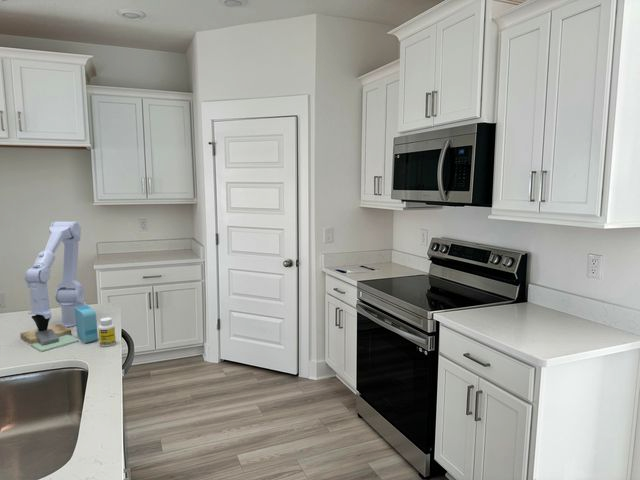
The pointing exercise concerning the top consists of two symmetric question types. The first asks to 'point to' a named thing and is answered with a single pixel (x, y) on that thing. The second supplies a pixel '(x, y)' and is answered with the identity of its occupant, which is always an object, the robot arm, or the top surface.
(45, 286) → the robot arm
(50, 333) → the slate tile
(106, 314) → the top surface
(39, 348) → the green mat
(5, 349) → the top surface
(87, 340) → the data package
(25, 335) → the oak board
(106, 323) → the supplement bottle
